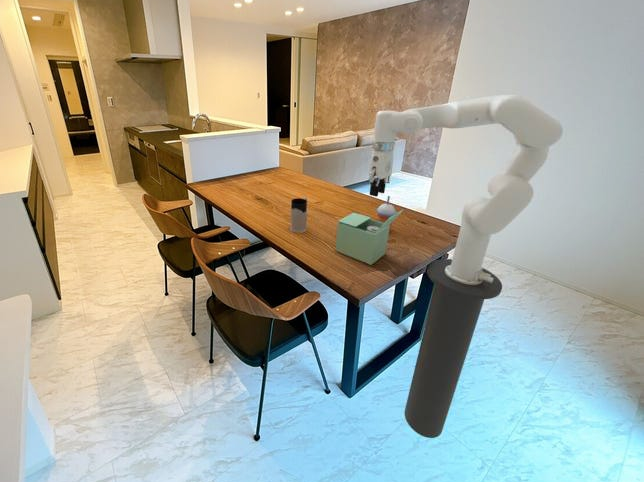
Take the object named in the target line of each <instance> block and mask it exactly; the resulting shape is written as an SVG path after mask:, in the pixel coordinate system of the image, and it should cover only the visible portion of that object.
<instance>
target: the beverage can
mask: <svg viewBox="0 0 644 482" xmlns="http://www.w3.org/2000/svg"><path fill="white" fill-rule="evenodd" d="M378 229H379V227H376V226H368V227H367V229H366V231H367V232H370V233H373V234H376V232H377V230H378Z"/></svg>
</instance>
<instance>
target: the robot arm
mask: <svg viewBox="0 0 644 482" xmlns="http://www.w3.org/2000/svg"><path fill="white" fill-rule="evenodd" d="M495 124H499V125H501V126H502V127H503V128H505V129H506V130H507V131H508V132H510V133H511V134H512V136H513V138H514V140H515V149H514V151H513V153H512V155H511V156H510V158H509V159H508V160H507V161H506V162H505V164H503V166H502V167H501V168H500V169H499V170H498V171H497V172H496V173H495V175H494V176H493V177H492V178H491V179H490V180H489V181H488V183H487V185H486V187H487V192H488V193H489V195H490V196H491V197H490V198H488V197H484V196H475V197H472V198H471V199H469V200H467V202H466V203H465V204H464V206H463V209H462V214H461V221H460V227H459V232H458V236H457V239H456V242H455V247H454V251H453V254H452V258H451V259H452V263H451V265H449V266H447V267H446V268H445V273H446V275H447V276H448V277H449V278H451V279H452V280H454V281H457V282H459V283H462V284H467V285H478V284H480V283H482V281H483V280H485V281H487V282H490V283H492V282H493V279H494V278H492V277H490V276H491V275H490V274H487V273H484V272H483V271H482V269H483V268H484V267H483V263H484V260H485V256H486V253H487V249H488V246H489V245H490V240H491V236H492V235H496V234H498V233H500V232H502V231H503V230H504V229H505V228H507V227H508V226H509V224H511V223H512V222H513V221H514V220H515V219H516V218H517V217H518V216H519V215H520V214H521V213H522V212H523V211H524V210H525V209H526V208H527V207H528V206H529V204H530V203H531V201H532V199H533V197H534V188H533V185H531V183H530V181H531V179H533V177H534V176H535V175H536V174H537V173H538V172H539V170H540V169H541V168H542V167H543V166H544V164H545V163H546V161H547V159H548V155H549V151H550V147H552V146H553V145H555V144H556V143H558V142H559V141H560V139H561V138H562V136H563V132H564V130H563V129H564V128H563V125H562V124H561V123H560V121H559V120H557V119H556V118H555V117H554V116H552V115H551V114H549V113H548V112H546V111H545V110H543V109H542V108H540V107H539V106H537V105H536V104H534V103H533V102H531V101H530V100H529V99H527V98H526V97H524V96H522V95H519V94H510V93H509V94H508V93H507V94H496V95H490V96H483V97H478V98H470V99H465V100H464V99H463V100H458V101H452V102H447V103H443V104H435V105H430V106H422V107H416V108H410V109H406V110H404V111H397V110H388V109H387V110H379V111H377V112H376V115H375V121H374V131H373V138H372V147H371V150H372V152H371V153H372V154H371V158H370V161H369V162H370V163H369V170H368V181H369V185H370V187H369V196H373V197H377V198H378V196H379V194H384V193H385V190H386V183H387V178H389V177H390V176H391V175H392V174H393V165H394V151H395V145H396V137H397V133H400V134H406V135H411V134H416V133H417V132H419V131H420V130H422V129H431V128H442V129H443V128H445V129H464V128H470V127H480V126H487V125H495Z"/></svg>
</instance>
